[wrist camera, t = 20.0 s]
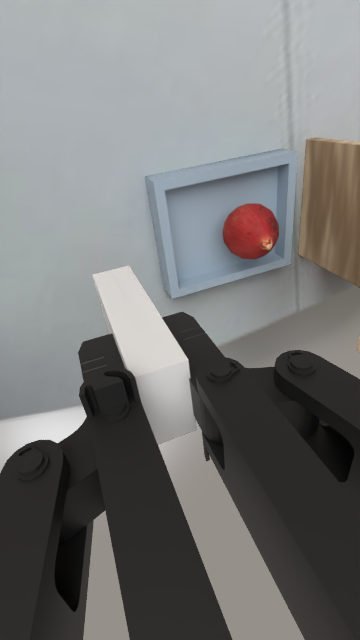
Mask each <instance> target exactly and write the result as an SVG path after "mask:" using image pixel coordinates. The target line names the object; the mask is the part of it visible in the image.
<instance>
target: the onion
mask: <svg viewBox="0 0 360 640" xmlns="http://www.w3.org/2000/svg"><path fill="white" fill-rule="evenodd" d="M222 234H223V239H224V243H225V244H226V246H227V247H228V249H229V250H230V251H231V253H233V254H235V255H236V256H238V257H240V258H242V259H257V258H260V257H263V256H265V255H266V254H268V253H269V252H270V251H271V250H272V249H273V247H274V246H275V245H276V243H277V240H278V237H279V224H278V222H277V220H276V218H275V216H274V214H273V212H272V211H271V210H270V209H268V208H266V207H265V206H263V205H261V204H257V203H251V204H244V205H242V206H239V207H237V208H236V209H235V210H233V211H232V212H231V213H230V214H229V215H228V217H227V219H226V220H225V222H224V227H223V233H222Z"/></svg>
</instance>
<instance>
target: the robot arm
mask: <svg viewBox="0 0 360 640" xmlns="http://www.w3.org/2000/svg"><path fill="white" fill-rule="evenodd" d="M93 279H94V283H95V286H96V290H97V294H98V297H99V301H100V304H101V308H102V312H103V315H104V319H105V323H106V326H107V330H108V333H109V334H108V335H105V336H101V337H98V338H94V339H91V340H88V341H84V342H83V343H82V345H81V347H80V350H79V352H78V354H79V359H80V364H81V370H82V375H83V380H84V382H83V384H82V385H81V387H80V393H79V397H80V399H81V402H82V404H83V407H84V410H85V412H86V415H87V417H86V419H85V421H84V423H83V424H82V425H81V426H80V427H79V428H78V430H77V431H75V432H74V433H73V434H71V435H70V436H69V437H67V438H65V439H64V440H63V441H61V442H59V443H55V442H53V441H51V440H38V441H35V442H31V443H29V444H26V445H25V446H23V447H22V448H20V449H18V450H17V451H16V452H15V453H14V454H13V455H12V456H11V457H10V458H9V459H8V460H7V462H6V463H5V465H4V467H3V469H2V471H1V473H0V640H83V634H84V623H85V611H86V600H87V589H88V577H89V566H90V555H91V543H92V532H93V520H94V519H95V518H96V517H97V516H99V515H100V514H101V513H102V512H104V511H105V510H106V515H107V521H108V526H109V531H110V537H111V542H112V547H113V552H114V557H115V563H116V568H117V573H118V579H119V584H120V589H121V595H122V600H123V605H124V611H125V616H126V621H127V626H128V632H129V637H130V640H232V638H231V635H230V632H229V630H228V627H227V625H226V622H225V619H224V617H223V614H222V612H221V609H220V606H219V604H218V601H217V599H216V596H215V593H214V590H213V588H212V585H211V583H210V580H209V577H208V575H207V572H206V570H205V567H204V564H203V562H202V559H201V557H200V554H199V551H198V549H197V546H196V544H195V541H194V538H193V536H192V533H191V530H190V528H189V525H188V523H187V520H186V517H185V515H184V512H183V510H182V507H181V504H180V502H179V499H178V497H177V494H176V491H175V489H174V486H173V483H172V481H171V478H170V476H169V473H168V471H167V468H166V465H165V463H164V460H163V458H162V455H161V452H160V450H159V447H158V445H159V444H161V443H164V442H167V441H169V440H172V439H174V438H177V437H180V436H182V435H185V434H187V433H190V432H192V431H195V430H197V426H196V420H197V422H198V424H199V426H200V428H201V430H202V436H203V445H204V454H205V458H206V461H208V460H210V458H209V455H210V457H211V459H212V460H213V462H214V464H215V466H216V468H217V470H218V472H219V474H220V476H221V478H222V480H223V482H224V484H225V486H226V487H227V489H228V491H229V493H230V495H231V497H232V499H233V501H234V503H235V505H236V507H237V508H238V511H239V513H240V515H241V517H242V519H243V521H244V522H245V524H246V526H247V528H248V530H249V532H250V534H251V536H252V538H253V540H254V542H255V544H256V546H257V548H258V550H259V551H260V554H261V555H262V557H263V559H264V561H265V563H266V565H267V567H268V569H269V571H270V573H271V575H272V577H273V579H274V581H275V583H276V585H277V586H278V588H279V590H280V592H281V594H282V596H283V598H284V600H285V602H286V604H287V606H288V608H289V610H290V611H291V614H292V616H293V617H294V619H295V621H296V623H297V625H298V627H299V629H300V631H301V633H302V635H303V637H304V639H305V640H360V379H358V378H357V377H355V376H353V375H351V374H349V373H348V372H346V371H344V370H343V369H341V368H339V367H337V366H336V365H334V364H332V363H330V362H328V361H327V360H325V359H323V358H321V357H320V356H318V355H316V354H313V353H311V352H307V351H301V350H294V351H288V352H285V353H282V354H281V355H280V356H279V357H278V358H277V359H276V362H275V367H266V368H244V367H243V366H242V365H241V364H240V363H239V362H238V361H236V360H233V359H230V358H225V357H224V356H223V354H222V353H221V352H220V350H219V349H218V348H217V347H216V345H215V344H214V343H213V342H212V340H211V339H210V338H209V336H208V335H207V334H205V331H204V330H203V329H202V328H201V327H200V325H199V324H198V323H197V321H196V320H195V319H194V317H192V316H190V315H188V314H186V313H184V312H180V313H176V314H173V315H169V316H166V317H161V316H160V314H159V312H158V311H157V309H156V308H155V306H154V305H153V303H152V301H151V300H150V298H149V297H148V295H147V294H146V292H145V290H144V289H143V287H142V286H141V284H140V282H139V281H138V279H137V278H136V276H135V275H134V273H133V271H132V270H131V268H130V267H129V266H126V267H122V268H118V269H114V270H109V271H105V272H101V273H97V274H93Z"/></svg>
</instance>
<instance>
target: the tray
mask: <svg viewBox="0 0 360 640" xmlns="http://www.w3.org/2000/svg"><path fill="white" fill-rule="evenodd" d="M297 156H298V151H292V150H286V149H278V150H273V151H268V152H263V153H258V154H254V155H249V156H244V157H239V158H234V159H229V160H224V161H219V162H214V163H210V164H205V165H200V166H195V167H190V168H185V169H180V170H175V171H170V172H166V173H161V174H156V175H151V176H146V177H145V179H146V185H147V191H148V197H149V203H150V209H151V214H152V220H153V226H154V232H155V238H156V244H157V250H158V256H159V261H160V267H161V273H162V279H163V285H164V289H165V290H166V292H167V293H168V294H169V296H170V297H171V298H172V299H174V298H177V297H181V296H184V295H187V294H191V293H194V292H198V291H201V290H204V289H208V288H211V287H215V286H218V285H222V284H225V283H228V282H232V281H235V280H239V279H242V278H245V277H249V276H252V275H256V274H259V273H263V272H266V271H269V270H273V269H276V268H280V267H283V266H286V265H290V264H291V251H292V235H293V219H294V204H295V188H296V172H297ZM251 203H257V204H261V205H263V206H265V207H266V208H268V209H270V210H271V211H272V212H273V214H274V216H275V218H276V220H277V222H278V224H279V237H278V240H277V243H276V245H275V246H274V247H273V249H272V250H271V251H270V252H269V253H268V254H266V255H265V256H263V257H260V258H257V259H242V258H240V257H238V256H236V255H235V254H233V253H231V251H230V250H229V249H228V247H227V246H226V244H225V243H224V239H223V234H222V233H223V227H224V222H225V220H226V219H227V217H228V215H229V214H230V213H231V212H232V211H233V210H235V209H236V208H237V207H239V206H242V205H244V204H251Z"/></svg>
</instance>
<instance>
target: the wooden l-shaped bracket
mask: <svg viewBox="0 0 360 640" xmlns="http://www.w3.org/2000/svg"><path fill="white" fill-rule="evenodd" d="M298 254H299V255H301V256H302V257H304V258H306V259H308V260H310V261H312V262H314V263H315V264H317V265H319V266H321V267H323V268H325V269H326V270H328V271H330V272H332V273H334V274H336V275H337V276H339V277H341V278H343V279H345V280H347V281H348V282H350V283H352V284H354V285H356V286H358V287H359V288H360V142H355V141H344V140H334V139H323V138H312V139H307V140H306V153H305V167H304V180H303V194H302V208H301V221H300V235H299V249H298ZM357 351H359V352H360V336H359V341H358V346H357Z"/></svg>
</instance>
